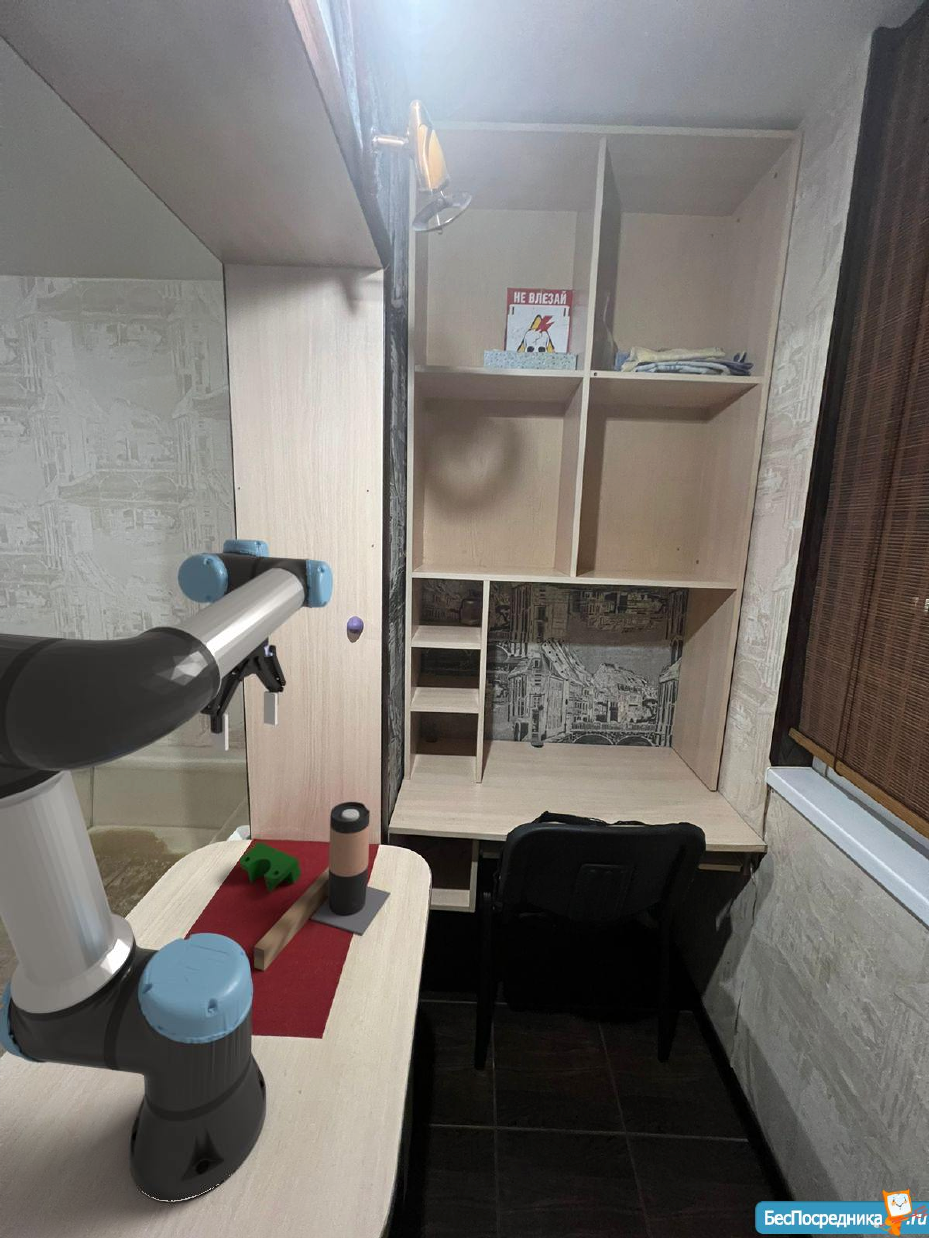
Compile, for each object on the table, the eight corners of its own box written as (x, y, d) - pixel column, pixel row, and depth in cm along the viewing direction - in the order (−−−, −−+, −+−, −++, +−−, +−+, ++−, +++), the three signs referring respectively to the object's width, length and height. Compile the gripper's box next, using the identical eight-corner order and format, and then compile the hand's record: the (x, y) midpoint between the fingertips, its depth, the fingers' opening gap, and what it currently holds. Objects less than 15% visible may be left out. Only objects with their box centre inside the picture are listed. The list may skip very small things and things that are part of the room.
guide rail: (264, 970, 88) (264, 950, 88) (254, 967, 89) (254, 946, 88) (341, 880, 112) (341, 863, 111) (333, 877, 112) (333, 861, 112)
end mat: (362, 935, 97) (362, 933, 97) (311, 919, 100) (311, 917, 100) (390, 894, 109) (390, 892, 109) (343, 880, 112) (343, 879, 112)
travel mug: (321, 913, 101) (323, 818, 98) (336, 887, 109) (338, 798, 106) (359, 919, 101) (362, 824, 97) (371, 893, 108) (375, 803, 105)
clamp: (252, 896, 112) (232, 861, 110) (273, 875, 117) (254, 841, 115) (286, 899, 105) (265, 862, 103) (307, 877, 110) (287, 841, 108)
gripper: (273, 614, 108) (272, 711, 112) (174, 634, 85) (177, 757, 88) (304, 617, 106) (303, 717, 110) (211, 639, 82) (213, 765, 86)
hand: (247, 735), depth 99 cm, fingers open, 13 cm apart
